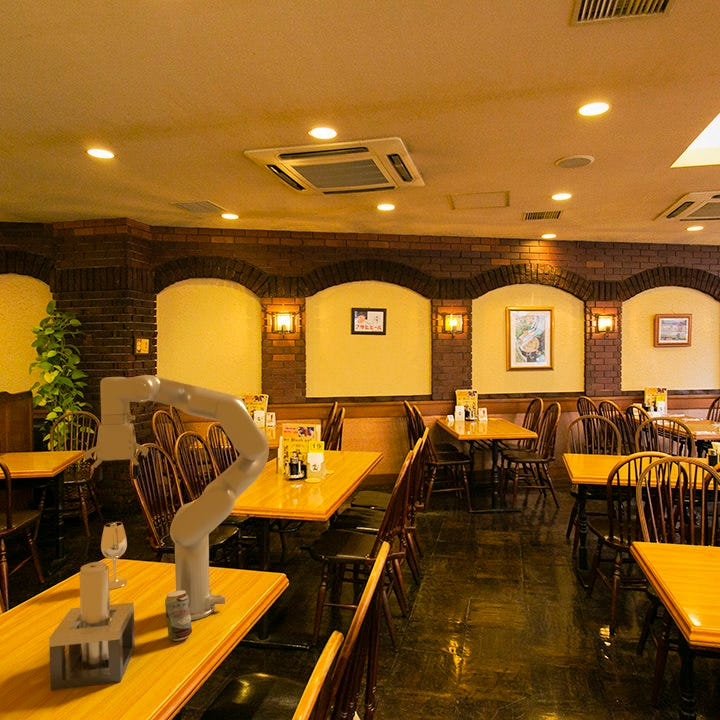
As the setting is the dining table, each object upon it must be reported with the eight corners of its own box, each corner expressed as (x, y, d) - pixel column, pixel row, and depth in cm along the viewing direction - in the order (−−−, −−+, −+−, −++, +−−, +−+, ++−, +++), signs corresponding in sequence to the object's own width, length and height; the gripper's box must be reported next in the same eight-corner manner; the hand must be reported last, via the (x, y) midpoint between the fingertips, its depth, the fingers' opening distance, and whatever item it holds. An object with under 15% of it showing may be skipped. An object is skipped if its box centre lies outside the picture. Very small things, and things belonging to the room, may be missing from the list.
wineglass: (121, 589, 181) (120, 528, 181) (97, 589, 181) (96, 528, 181) (131, 579, 189) (130, 520, 189) (108, 579, 189) (107, 521, 189)
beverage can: (179, 646, 145) (177, 600, 145) (160, 639, 149) (159, 594, 148) (197, 635, 150) (196, 591, 150) (179, 628, 154) (178, 585, 154)
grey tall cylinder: (100, 676, 132) (97, 571, 131) (76, 673, 133) (73, 569, 133) (117, 661, 138) (114, 561, 138) (94, 659, 139) (91, 559, 139)
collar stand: (134, 648, 144) (133, 602, 144) (120, 682, 129) (119, 630, 129) (72, 655, 141) (71, 608, 141) (50, 690, 127) (49, 638, 126)
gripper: (149, 417, 165) (151, 474, 165) (87, 419, 162) (88, 478, 162) (145, 420, 158) (146, 480, 158) (79, 423, 155) (81, 484, 155)
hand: (117, 479), depth 160 cm, fingers open, 9 cm apart
